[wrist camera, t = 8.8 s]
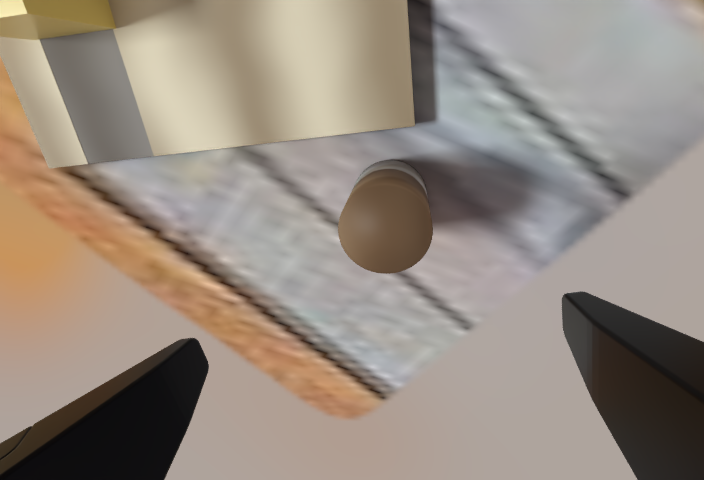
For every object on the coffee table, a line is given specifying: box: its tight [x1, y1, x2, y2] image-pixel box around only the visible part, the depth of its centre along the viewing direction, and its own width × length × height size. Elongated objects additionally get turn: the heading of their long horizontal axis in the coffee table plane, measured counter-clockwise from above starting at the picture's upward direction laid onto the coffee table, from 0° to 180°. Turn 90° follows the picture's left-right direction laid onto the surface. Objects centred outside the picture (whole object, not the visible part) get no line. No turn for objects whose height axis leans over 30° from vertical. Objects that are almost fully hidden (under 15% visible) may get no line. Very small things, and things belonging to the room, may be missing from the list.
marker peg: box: [338, 160, 433, 273], centre depth 18 cm, size 4×4×5 cm
